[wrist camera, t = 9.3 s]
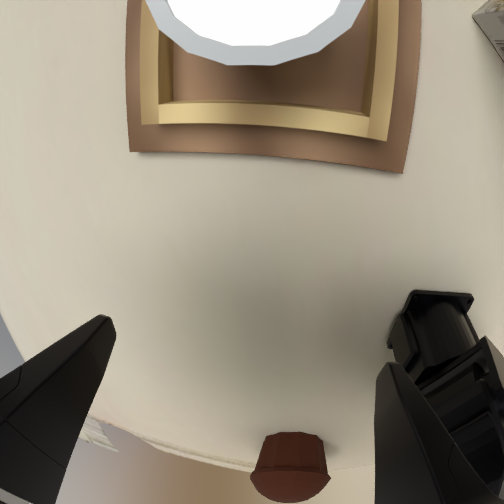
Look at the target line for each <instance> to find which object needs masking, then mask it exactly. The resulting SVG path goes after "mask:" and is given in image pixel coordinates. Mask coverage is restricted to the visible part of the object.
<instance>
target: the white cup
mask: <svg viewBox="0 0 504 504" xmlns="http://www.w3.org/2000/svg"><path fill="white" fill-rule="evenodd" d="M145 1H146V3H147V5H148V7H149V9H150V11H151V13H152V16H153V18H154V20H155V22H156V24H157V26H158V29H159V30H161V31H162V32H163V33H164V34H166V35H167V36H168V37H169V38H171V39H172V40H173V41H174V42H176V43H177V44H178V45H179V46H180V47H182V48H183V49H184V50H185V51H186V52H188V53H191V54H195V55H198V56H201V57H204V58H208V59H211V60H214V61H217V62H220V63H222V64H225V65H277V64H280V63H283V62H286V61H289V60H293V59H296V58H299V57H303V56H306V55H310V54H313V53H317V52H319V51H320V50H321V49H323V48H324V47H325V46H327V45H328V44H329V43H331V42H332V41H333V40H335V39H336V38H337V37H339V36H340V35H341V34H343V33H344V32H346V31H347V30H348V29H350V28H351V27H352V25H353V23H354V21H355V19H356V17H357V15H358V13H359V12H360V10H361V8H362V6H363V4H364V2H365V0H145Z"/></svg>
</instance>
